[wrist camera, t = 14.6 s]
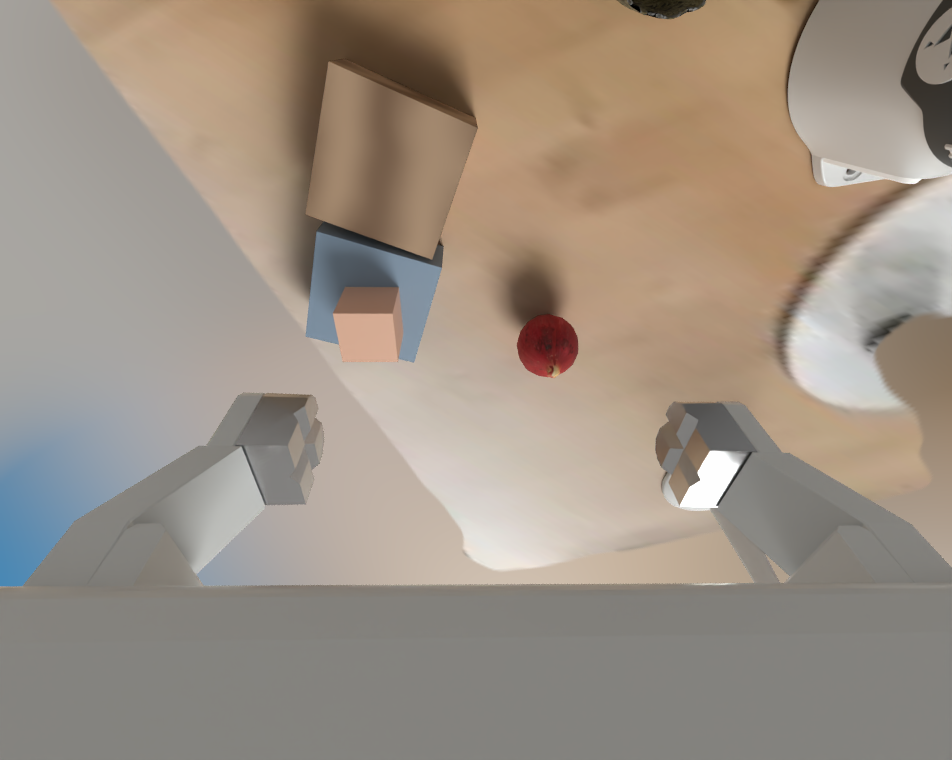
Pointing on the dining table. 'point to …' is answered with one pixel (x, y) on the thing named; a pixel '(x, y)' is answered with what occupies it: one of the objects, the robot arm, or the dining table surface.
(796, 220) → the dining table surface
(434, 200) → the walnut block
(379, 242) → the slate-blue block
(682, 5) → the cup
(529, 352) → the onion
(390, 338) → the terracotta cube
